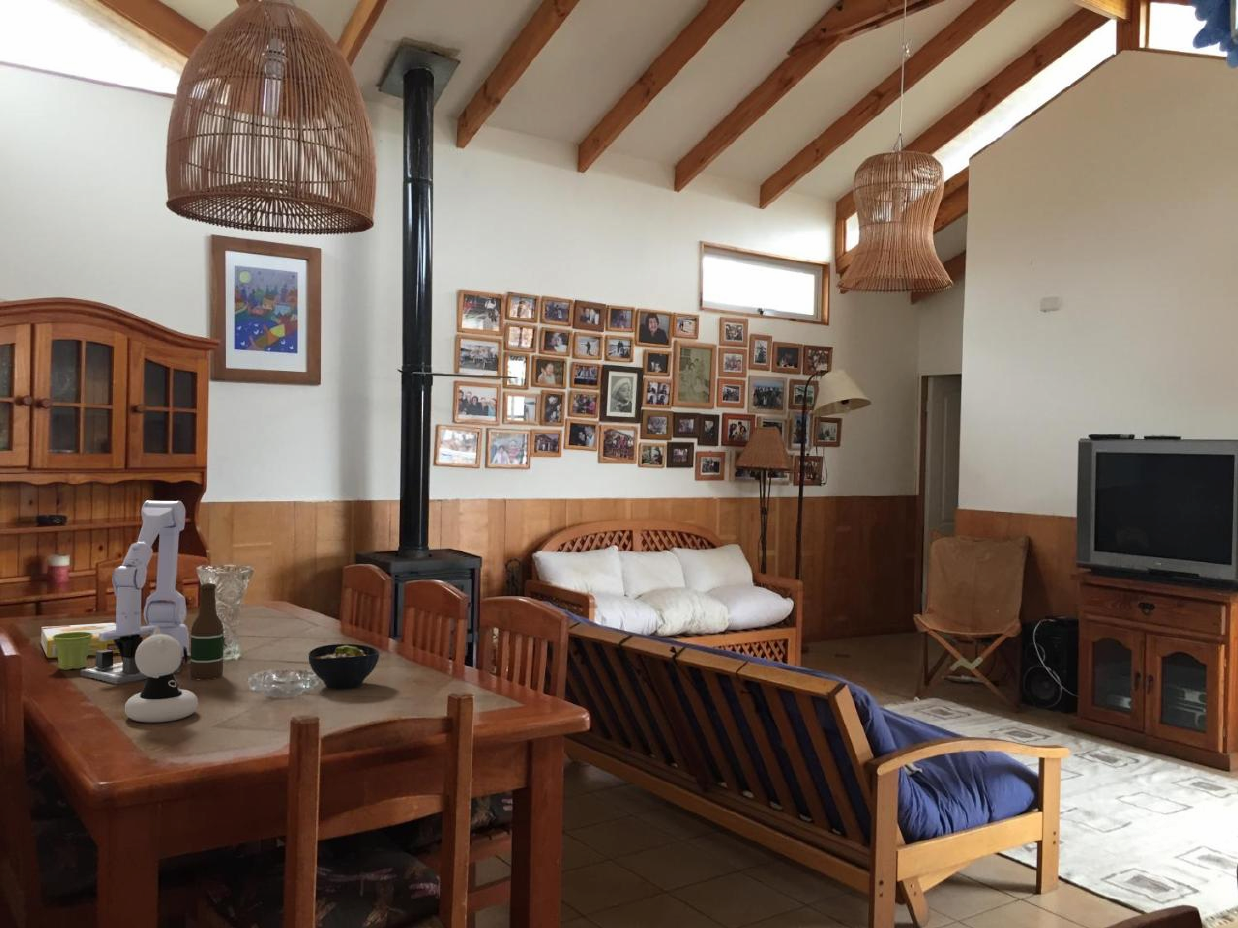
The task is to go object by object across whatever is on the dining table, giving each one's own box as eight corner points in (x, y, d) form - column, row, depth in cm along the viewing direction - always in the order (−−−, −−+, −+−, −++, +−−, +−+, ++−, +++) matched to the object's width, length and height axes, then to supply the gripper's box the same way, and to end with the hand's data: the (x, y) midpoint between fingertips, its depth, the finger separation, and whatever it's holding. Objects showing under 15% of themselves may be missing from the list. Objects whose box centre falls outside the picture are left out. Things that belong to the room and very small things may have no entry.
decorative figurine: (203, 719, 215) (205, 627, 215) (129, 728, 207) (130, 633, 207) (191, 704, 227) (192, 617, 227) (120, 712, 220) (121, 622, 219)
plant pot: (74, 672, 257) (75, 639, 257) (43, 670, 259) (43, 636, 259) (100, 665, 266) (100, 632, 266) (70, 662, 268) (70, 630, 268)
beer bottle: (229, 675, 258) (231, 582, 257) (208, 681, 250) (209, 586, 250) (205, 672, 260) (206, 581, 260) (183, 678, 253) (184, 584, 253)
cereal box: (47, 640, 272) (39, 624, 295) (46, 660, 272) (39, 643, 295) (129, 635, 283) (115, 620, 307) (128, 654, 283) (114, 638, 307)
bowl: (315, 696, 237) (315, 654, 237) (302, 681, 252) (303, 642, 252) (386, 690, 245) (386, 649, 245) (369, 675, 260) (370, 637, 260)
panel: (142, 664, 268) (143, 643, 268) (179, 672, 260) (179, 650, 260) (80, 675, 254) (81, 653, 254) (117, 684, 245) (117, 660, 245)
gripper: (110, 617, 248) (109, 671, 248) (163, 610, 260) (163, 662, 260) (94, 614, 251) (93, 668, 251) (147, 608, 264) (146, 659, 264)
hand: (127, 665), depth 256 cm, fingers closed
